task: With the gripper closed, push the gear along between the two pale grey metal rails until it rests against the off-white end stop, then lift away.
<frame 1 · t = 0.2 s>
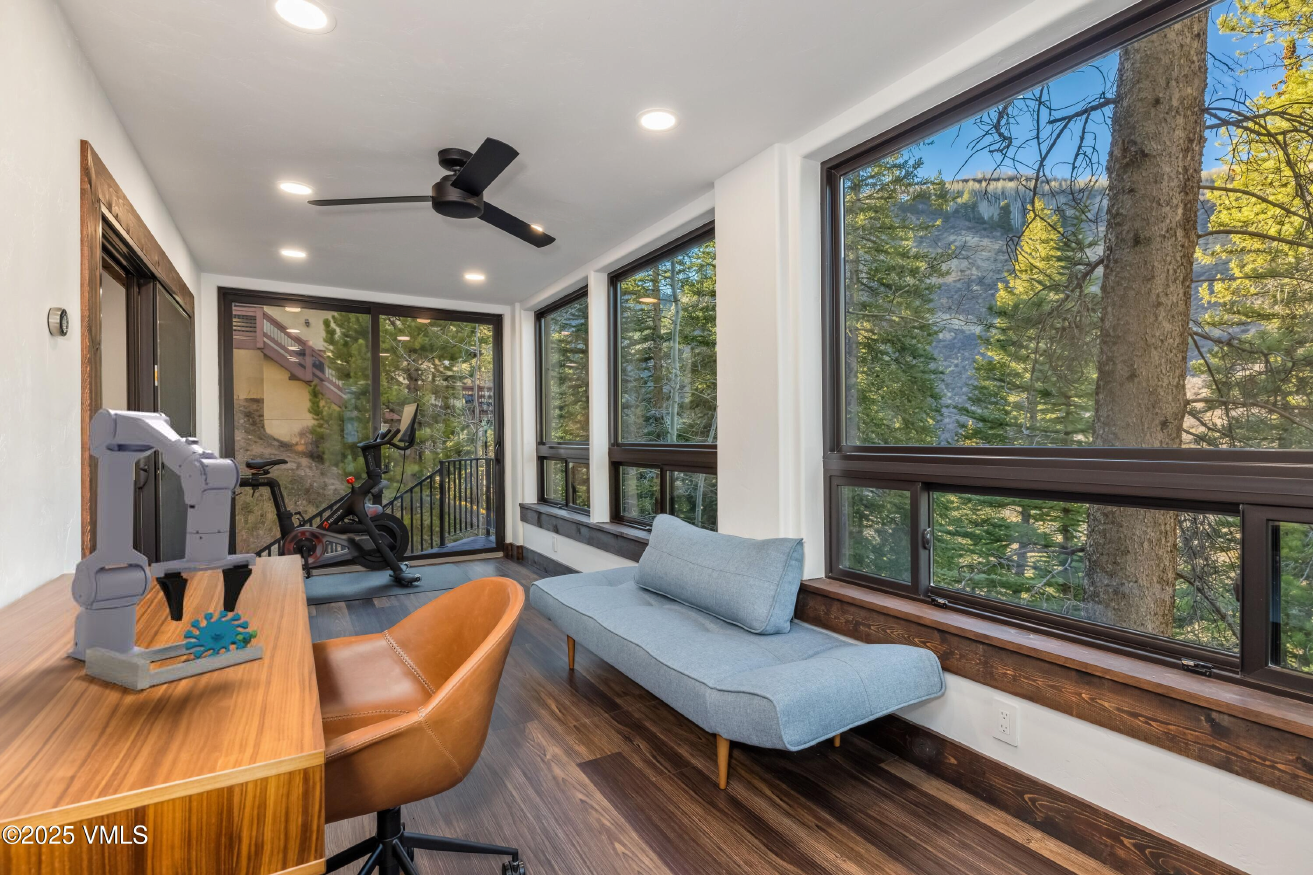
hand: (203, 615, 103), 10 cm above the table, tool pointing down, fingers open, 7 cm apart
gear: (220, 656, 115), on the table
rail dock: (180, 664, 109), on the table
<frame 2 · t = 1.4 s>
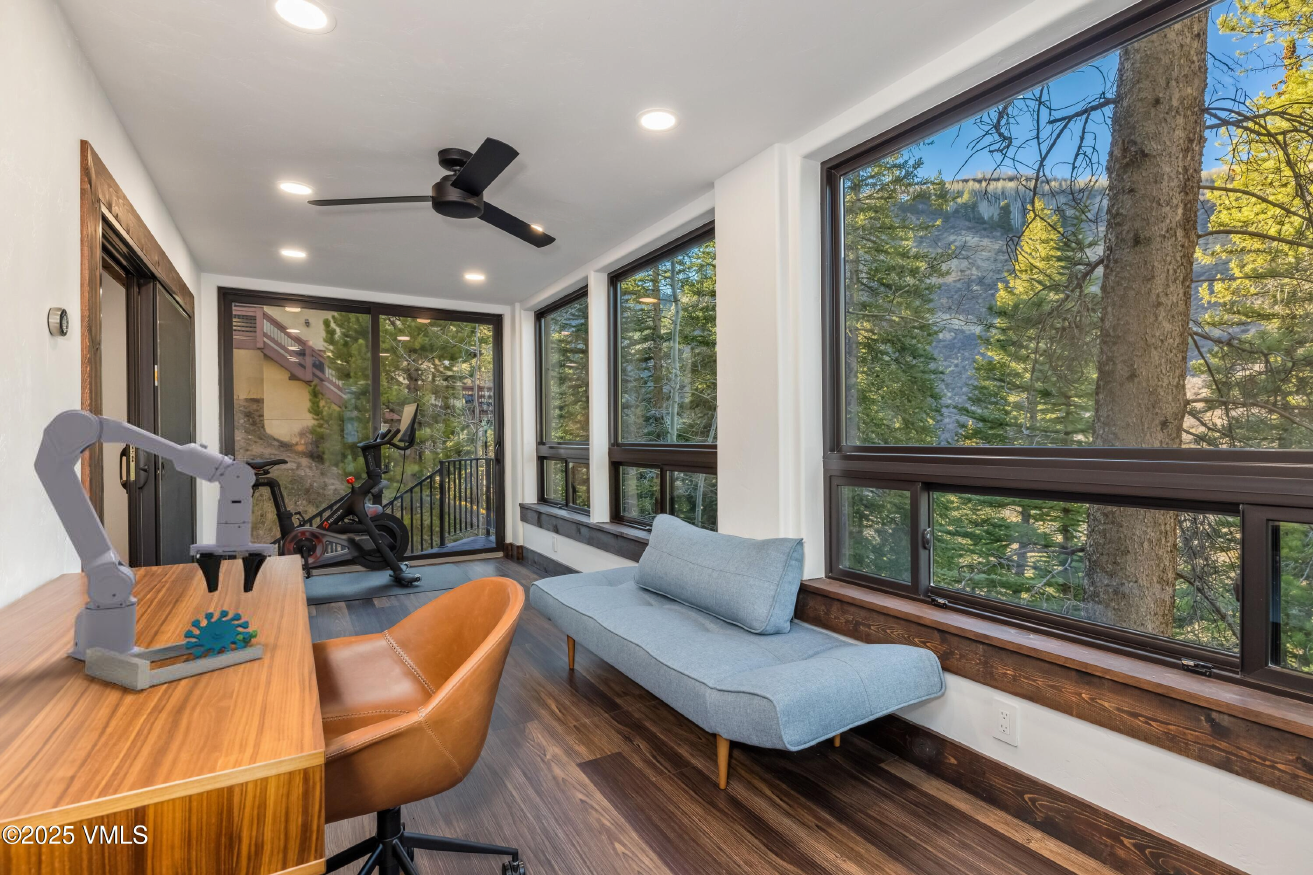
hand: (230, 591, 125), 9 cm above the table, tool pointing down, fingers open, 6 cm apart
nothing on the table moved.
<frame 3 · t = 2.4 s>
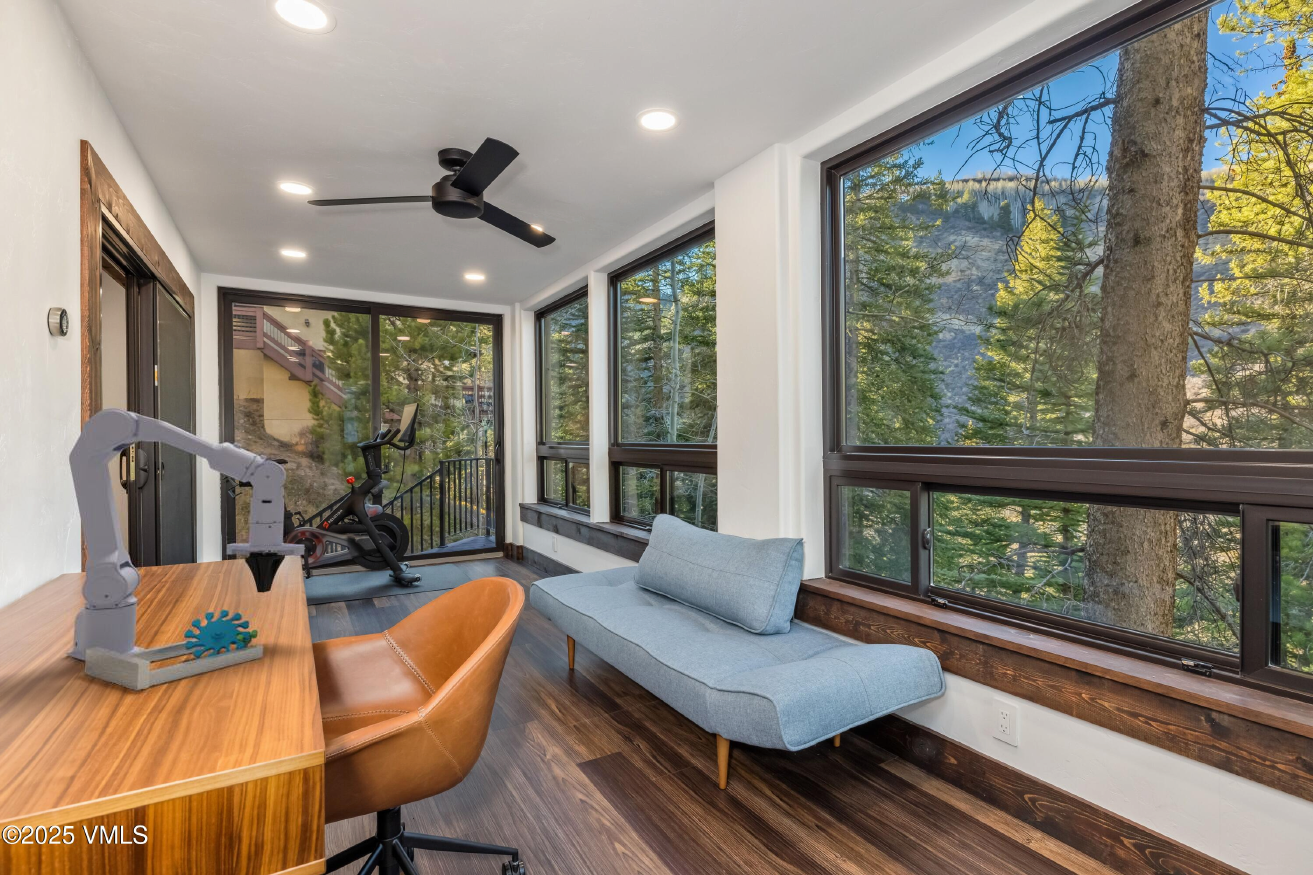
hand: (264, 591, 125), 10 cm above the table, tool pointing down, fingers closed
nothing on the table moved.
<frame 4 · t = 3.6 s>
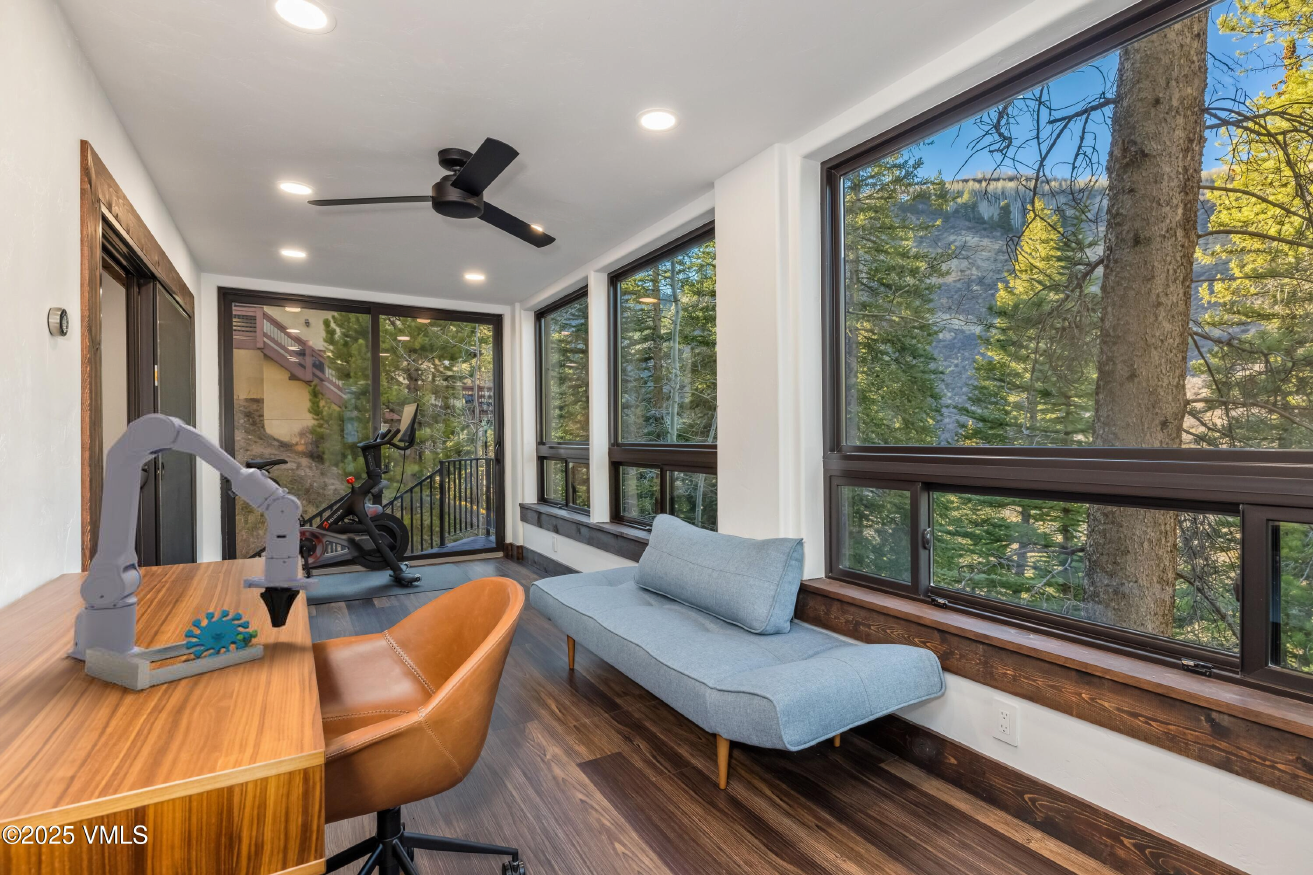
hand: (278, 626, 125), 3 cm above the table, tool pointing down, fingers closed
nothing on the table moved.
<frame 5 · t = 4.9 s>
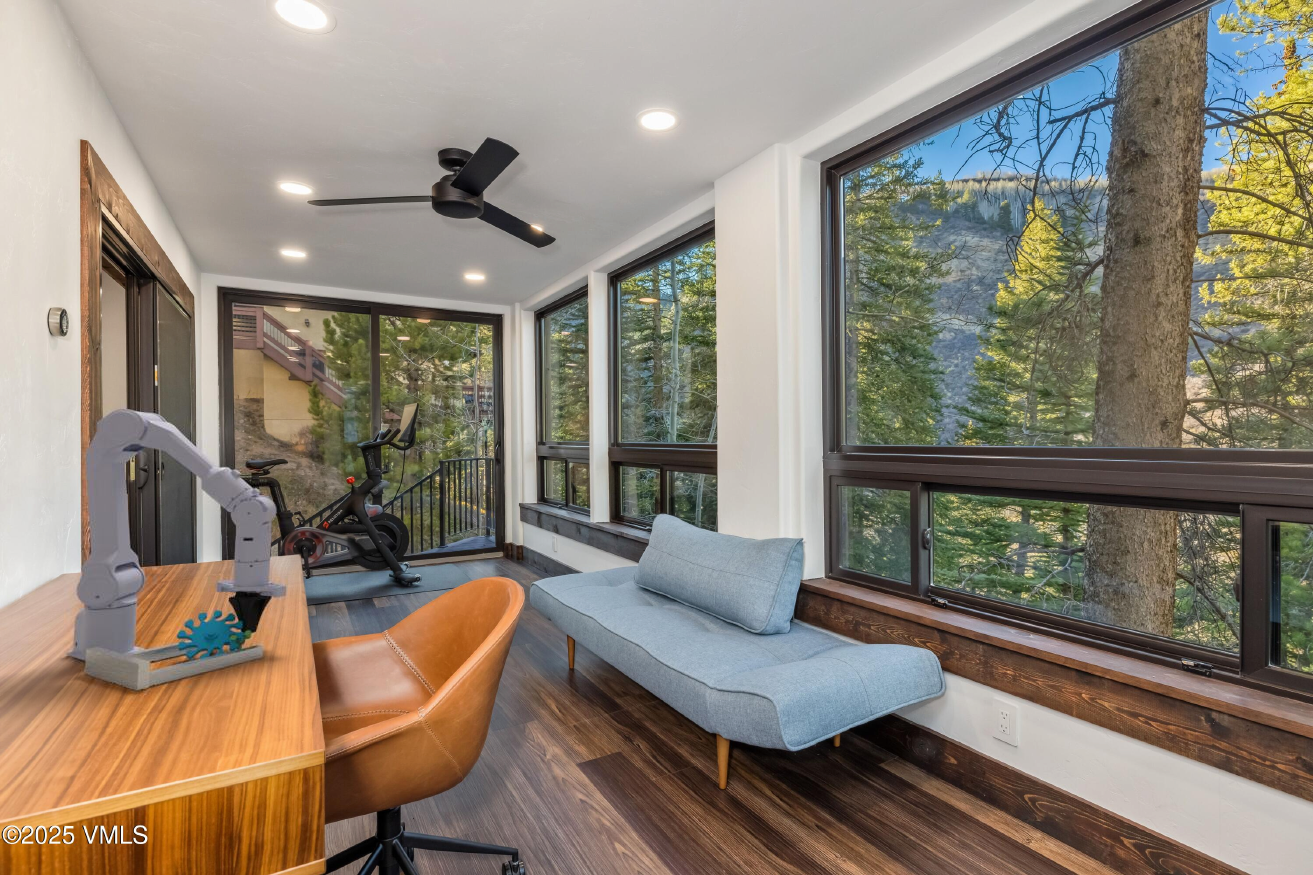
hand: (248, 632, 120), 3 cm above the table, tool pointing down, fingers closed
gear: (213, 657, 114), on the table, touching gripper
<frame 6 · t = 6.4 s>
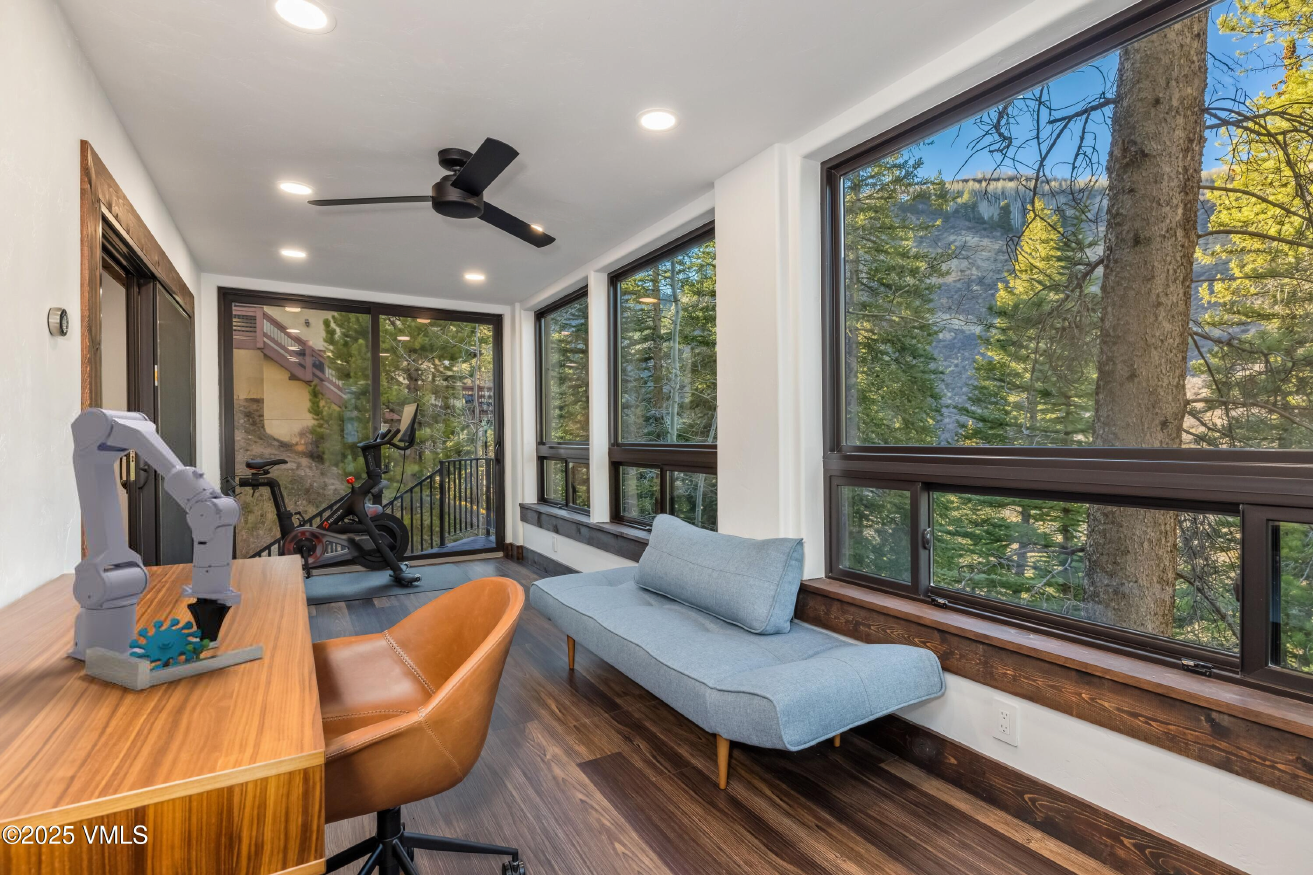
hand: (208, 641, 113), 3 cm above the table, tool pointing down, fingers closed, pressing on gear
gear: (169, 668, 108), on the table, touching gripper
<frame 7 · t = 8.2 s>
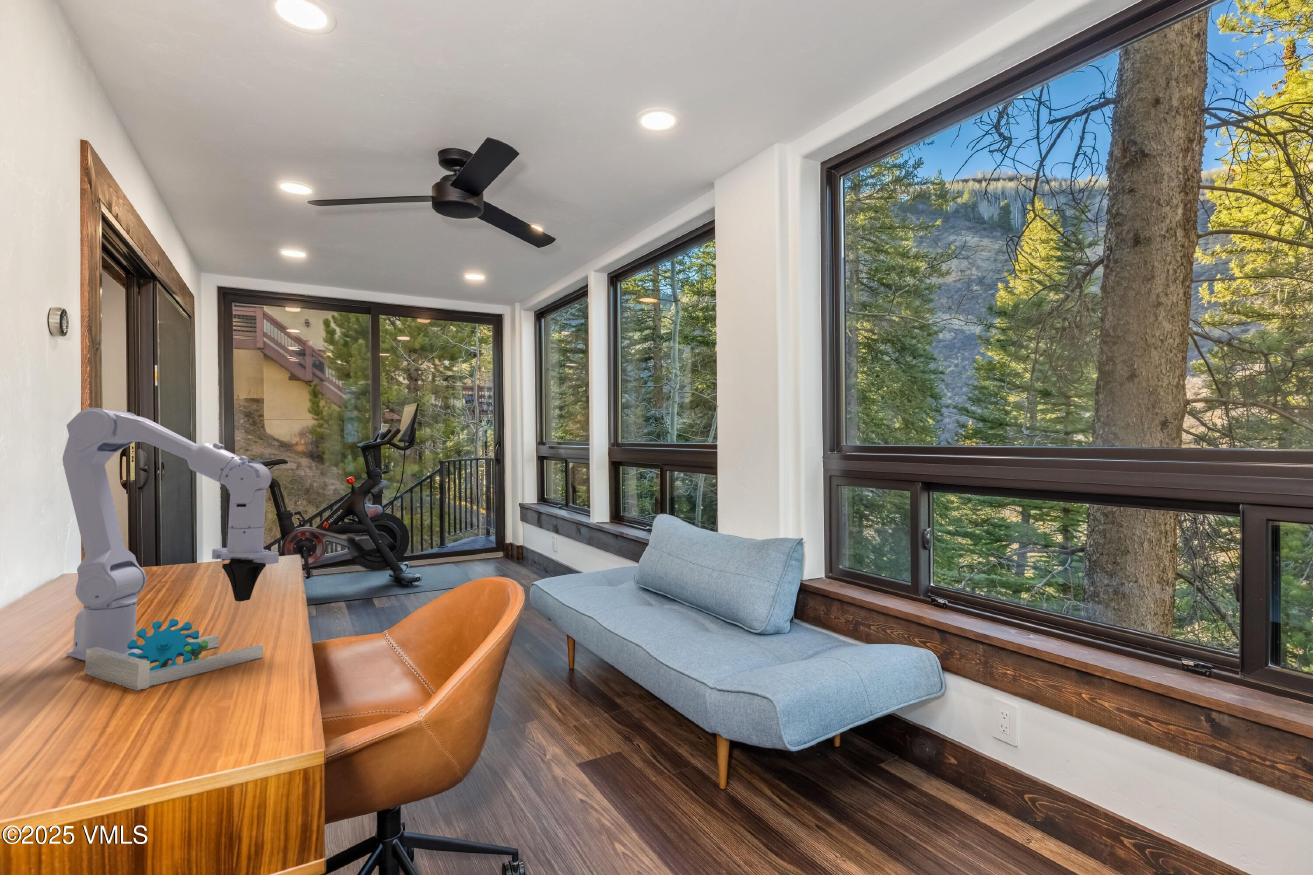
hand: (242, 600, 119), 9 cm above the table, tool pointing down, fingers closed
gear: (167, 669, 108), on the table
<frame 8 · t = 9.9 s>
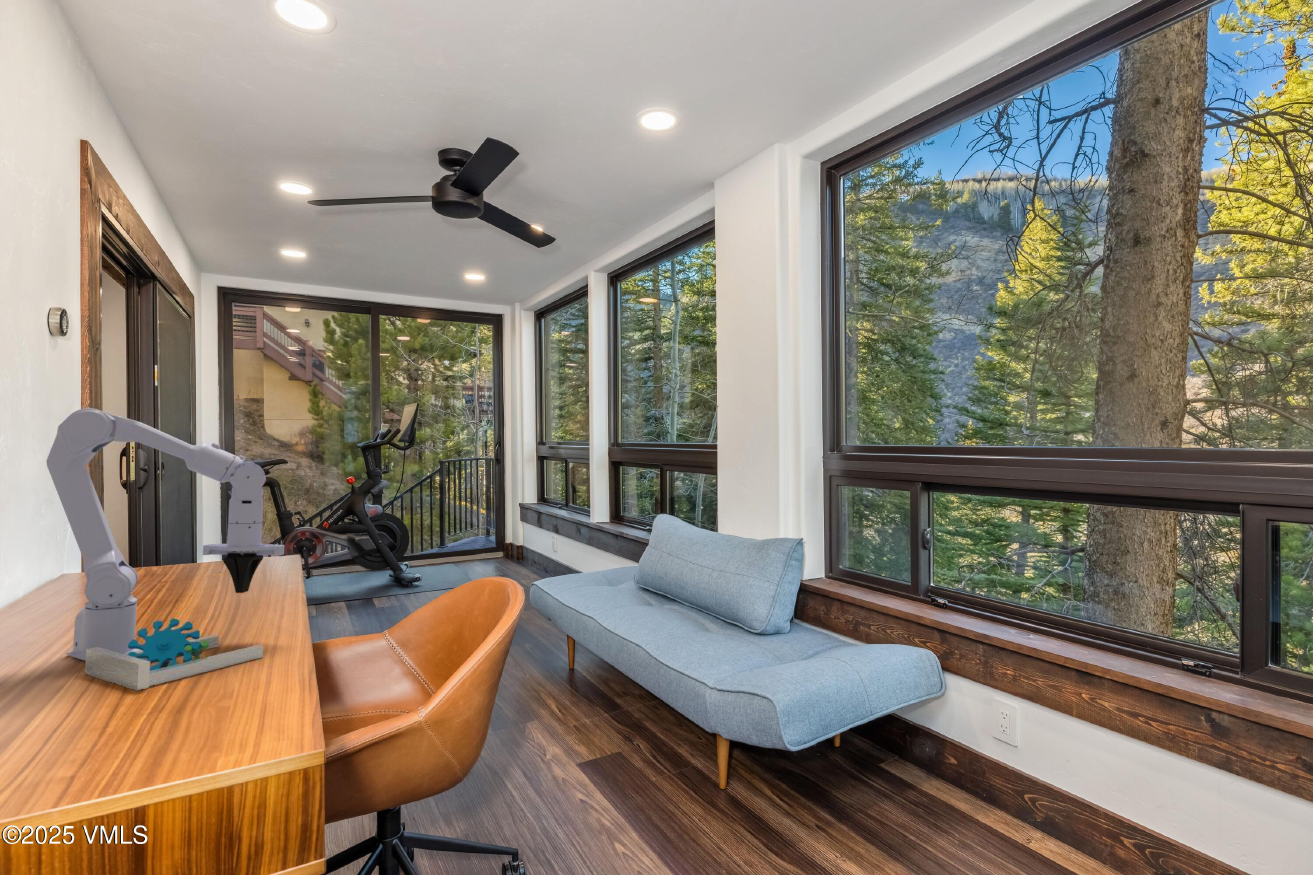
hand: (241, 591, 125), 9 cm above the table, tool pointing down, fingers closed
nothing on the table moved.
at the end: gear inside the target area (0.8 cm from its centre), on the table; gear tilted 0°; the gripper is holding nothing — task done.
